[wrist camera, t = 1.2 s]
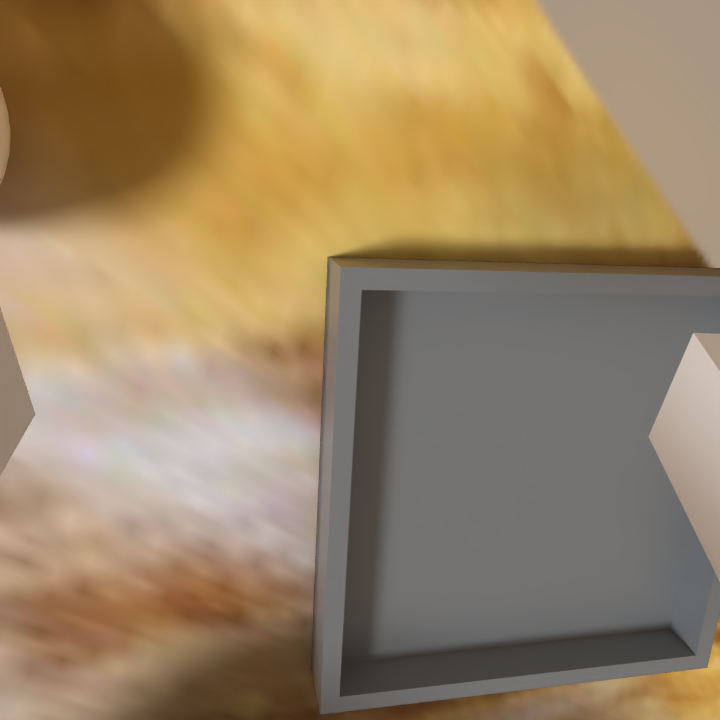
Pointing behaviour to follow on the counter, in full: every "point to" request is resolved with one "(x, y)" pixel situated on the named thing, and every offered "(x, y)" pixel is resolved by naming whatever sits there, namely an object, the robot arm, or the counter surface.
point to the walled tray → (502, 480)
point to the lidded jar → (4, 136)
